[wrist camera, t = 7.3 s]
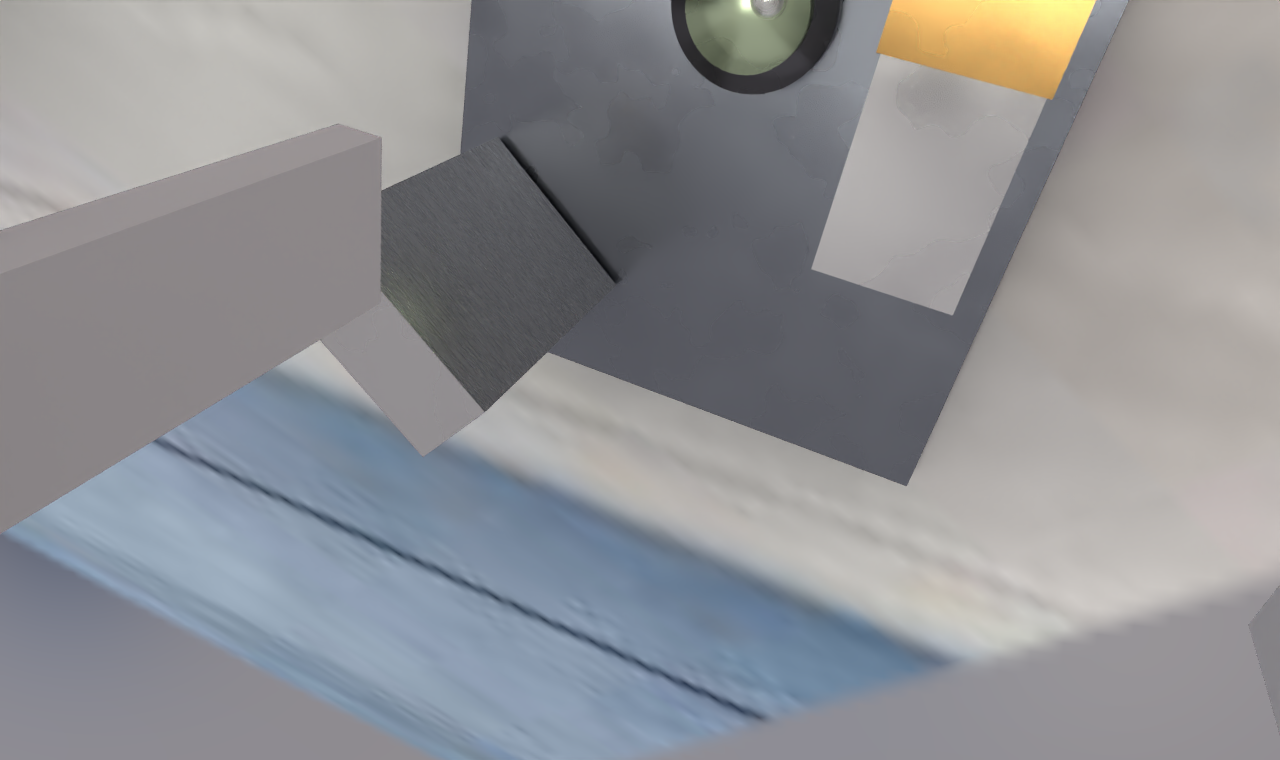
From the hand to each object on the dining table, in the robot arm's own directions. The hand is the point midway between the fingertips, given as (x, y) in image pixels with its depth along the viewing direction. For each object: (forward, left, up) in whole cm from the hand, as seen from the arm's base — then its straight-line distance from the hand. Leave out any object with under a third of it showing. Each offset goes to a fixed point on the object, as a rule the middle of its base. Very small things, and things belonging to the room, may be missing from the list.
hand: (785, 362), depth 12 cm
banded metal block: (+1, +2, -18) cm, 18 cm away
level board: (-6, +2, -20) cm, 20 cm away
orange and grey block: (-12, -8, -18) cm, 24 cm away
